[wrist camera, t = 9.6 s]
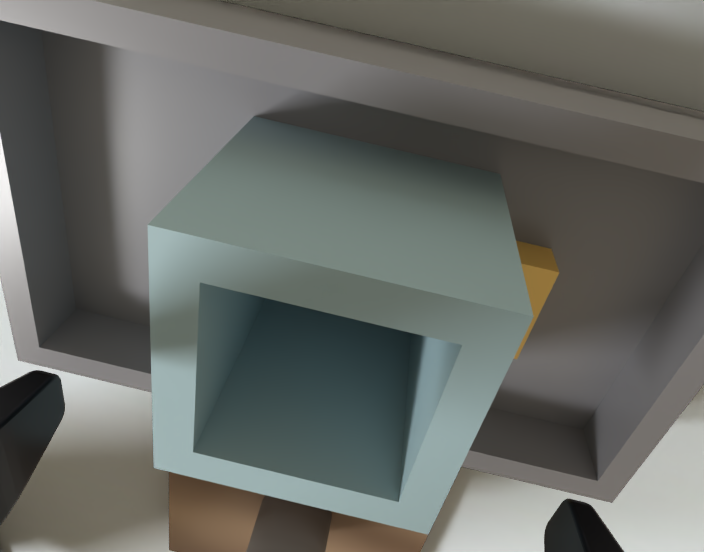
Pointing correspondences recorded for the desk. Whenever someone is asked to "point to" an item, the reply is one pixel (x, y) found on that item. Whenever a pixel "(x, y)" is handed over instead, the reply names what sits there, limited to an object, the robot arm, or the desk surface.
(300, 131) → the sleeve
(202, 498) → the stake
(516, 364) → the tray
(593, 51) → the desk surface
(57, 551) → the desk surface
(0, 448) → the robot arm
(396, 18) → the desk surface
